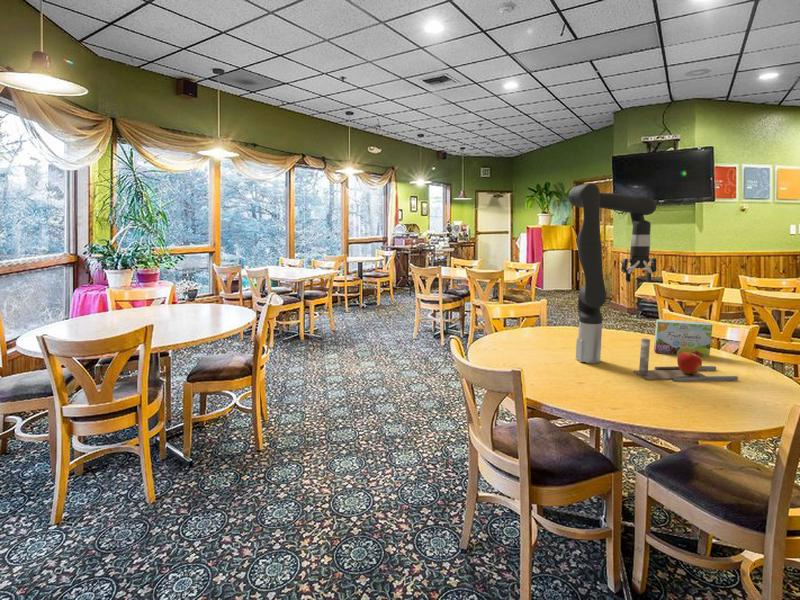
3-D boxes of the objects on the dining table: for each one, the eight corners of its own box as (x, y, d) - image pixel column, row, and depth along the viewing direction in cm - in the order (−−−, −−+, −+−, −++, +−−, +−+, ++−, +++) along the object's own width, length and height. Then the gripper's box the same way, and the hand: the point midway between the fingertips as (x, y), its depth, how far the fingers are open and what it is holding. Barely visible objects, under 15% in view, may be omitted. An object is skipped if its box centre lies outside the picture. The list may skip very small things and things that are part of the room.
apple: (673, 370, 188) (675, 345, 186) (696, 371, 185) (698, 346, 184) (679, 376, 180) (681, 351, 178) (703, 377, 178) (706, 352, 176)
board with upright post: (645, 380, 178) (648, 342, 176) (633, 371, 188) (635, 336, 186) (709, 379, 178) (713, 341, 175) (693, 371, 188) (696, 335, 185)
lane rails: (673, 381, 176) (673, 377, 176) (654, 370, 190) (654, 366, 189) (737, 380, 176) (738, 376, 176) (714, 369, 189) (714, 366, 189)
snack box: (655, 353, 214) (657, 321, 211) (653, 350, 219) (656, 318, 216) (709, 357, 206) (712, 324, 203) (706, 354, 211) (709, 321, 208)
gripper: (652, 244, 209) (649, 280, 212) (620, 244, 209) (618, 280, 212) (661, 245, 202) (658, 282, 204) (628, 245, 202) (625, 283, 204)
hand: (637, 281), depth 208 cm, fingers open, 8 cm apart
